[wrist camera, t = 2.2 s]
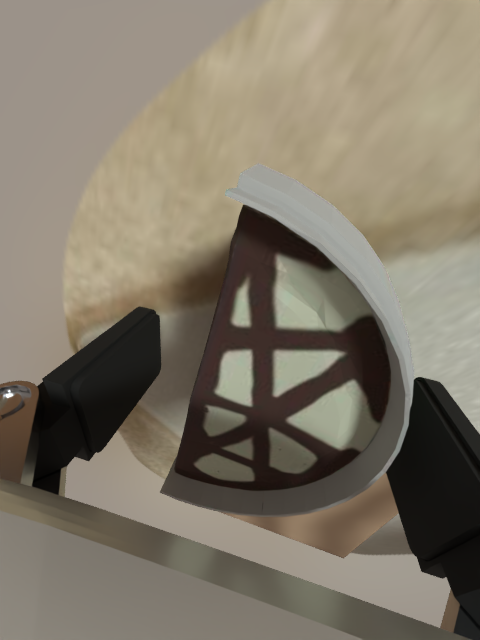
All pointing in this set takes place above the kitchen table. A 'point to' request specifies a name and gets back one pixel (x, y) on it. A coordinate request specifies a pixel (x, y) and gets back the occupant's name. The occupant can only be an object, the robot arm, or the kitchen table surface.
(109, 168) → the kitchen table surface
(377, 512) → the tan square plate
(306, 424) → the food container
